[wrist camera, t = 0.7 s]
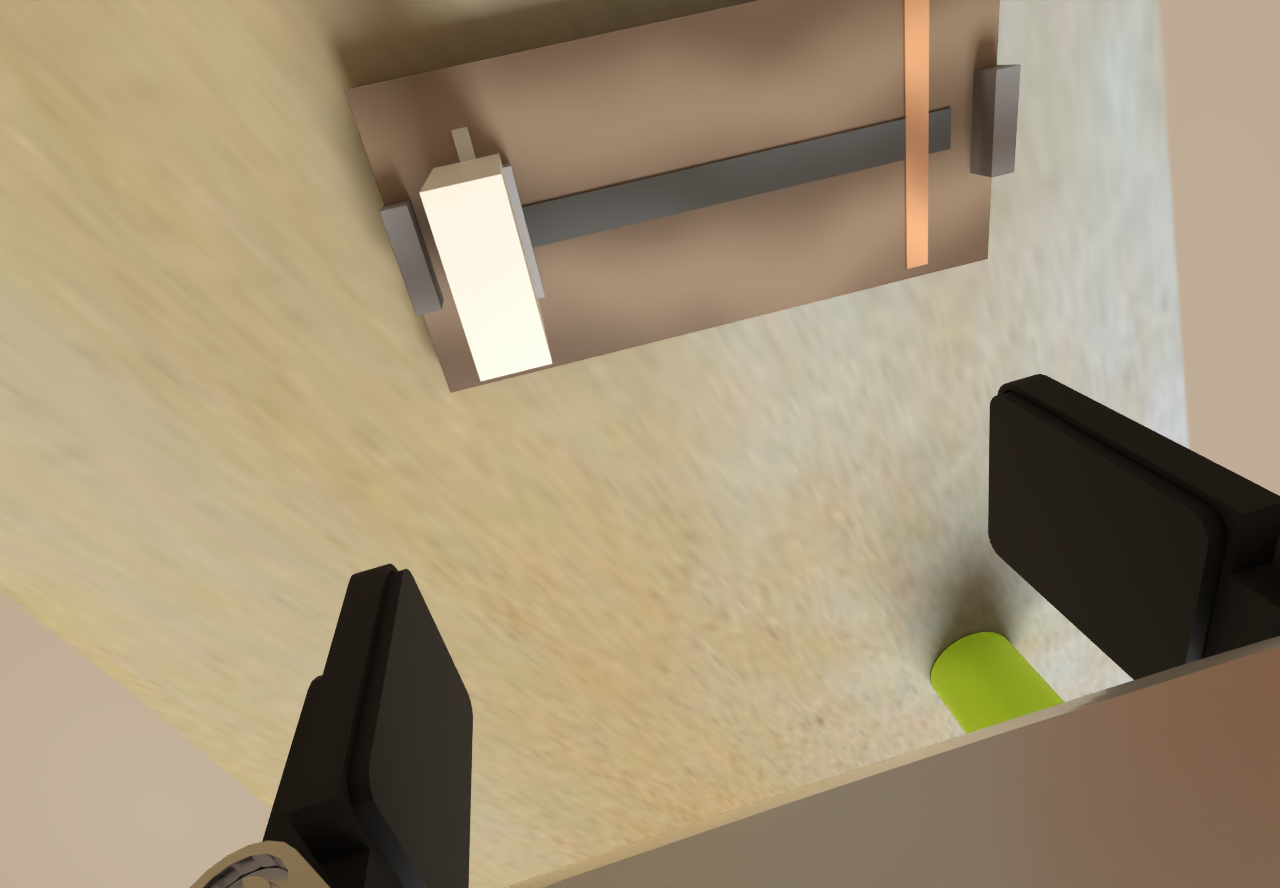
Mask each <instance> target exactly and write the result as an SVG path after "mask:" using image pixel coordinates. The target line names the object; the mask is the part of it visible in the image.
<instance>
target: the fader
mask: <svg viewBox="0 0 1280 888" xmlns="http://www.w3.org/2000/svg"><path fill="white" fill-rule="evenodd" d="M419 193H420V197H421V200H422V203H423V206H424V209H425V212H426V215H427V218H428V221H429V224H430V227H431V230H432V233H433V236H434V240H435V243H436V246H437V249H438V252H439V255H440V258H441V261H442V264H443V267H444V270H445V273H446V276H447V280H448V283H449V286H450V289H451V292H452V295H453V298H454V301H455V304H456V307H457V310H458V313H459V316H460V319H461V323H462V326H463V329H464V332H465V335H466V338H467V341H468V344H469V347H470V350H471V353H472V356H473V359H474V363H475V366H476V369H477V372H478V375H479V378H480V381H485V380H489V379H493V378H497V377H501V376H505V375H509V374H513V373H517V372H521V371H525V370H529V369H533V368H537V367H541V366H545V365H549V364H552V359H551V354H550V350H549V345H548V341H547V336H546V332H545V327H544V322H543V318H542V313H541V309H540V305H539V302H538V299H539V298H543V297H545V295H544V291H543V287H542V283H541V279H540V275H539V271H538V268H537V264H536V260H535V256H534V252H533V248H532V245H531V241H530V237H529V233H528V229H527V225H526V222H525V218H524V214H523V210H522V206H521V202H520V199H519V195H518V191H517V187H516V183H515V179H514V176H513V172H512V168H511V164H510V163H505V164H502V163H501V159H500V155H499V154H494V155H490V156H485V157H481V158H476V159H472V160H468V161H463V162H459V163H454V164H450V165H445V166H441V167H437V168H433V170H432V171H431V173H430V175H429V177H428V178H427V180H426V182H425V184H424V185H423V187H422V189H421V190H420V192H419Z"/></svg>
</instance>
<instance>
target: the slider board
mask: <svg viewBox="0 0 1280 888" xmlns="http://www.w3.org/2000/svg"><path fill="white" fill-rule="evenodd" d="M999 4H1000V0H757V1H753V2H748V3H743V4H739V5H734V6H729V7H725V8H720V9H716V10H711V11H706V12H702V13H697V14H692V15H688V16H683V17H678V18H674V19H669V20H665V21H660V22H655V23H651V24H646V25H641V26H637V27H632V28H627V29H623V30H618V31H614V32H609V33H604V34H600V35H595V36H590V37H586V38H581V39H577V40H572V41H567V42H563V43H558V44H553V45H549V46H544V47H539V48H535V49H530V50H526V51H521V52H516V53H512V54H507V55H502V56H498V57H493V58H488V59H484V60H479V61H475V62H470V63H465V64H461V65H456V66H451V67H447V68H442V69H438V70H433V71H428V72H424V73H419V74H414V75H410V76H405V77H400V78H396V79H391V80H387V81H382V82H377V83H373V84H368V85H363V86H359V87H354V88H349V89H345V90H344V91H345V93H346V96H347V99H348V102H349V105H350V108H351V111H352V113H353V116H354V119H355V122H356V125H357V128H358V131H359V133H360V136H361V139H362V142H363V145H364V148H365V151H366V153H367V156H368V159H369V162H370V165H371V168H372V170H373V173H374V176H375V179H376V182H377V185H378V188H379V190H380V193H381V196H382V199H383V202H384V206H383V208H382V209H381V210H380V211H379V212H380V215H381V218H382V220H383V223H384V226H385V229H386V232H387V235H388V237H389V240H390V243H391V246H392V249H393V251H394V254H395V257H396V260H397V263H398V265H399V268H400V271H401V274H402V277H403V279H404V282H405V285H406V288H407V291H408V294H409V296H410V299H411V302H412V305H413V308H414V310H415V313H416V316H418V315H422V314H423V316H424V319H425V322H426V324H427V327H428V330H429V333H430V336H431V339H432V342H433V344H434V347H435V350H436V353H437V356H438V359H439V362H440V364H441V367H442V370H443V373H444V376H445V379H446V381H447V384H448V387H449V390H450V393H451V392H455V391H459V390H463V389H467V388H471V387H475V386H479V385H483V384H487V383H491V382H495V381H499V380H503V379H508V378H512V377H516V376H520V375H524V374H528V373H532V372H536V371H540V370H544V369H548V368H552V367H556V366H560V365H564V364H568V363H572V362H576V361H580V360H584V359H588V358H592V357H596V356H600V355H604V354H608V353H612V352H616V351H620V350H624V349H628V348H632V347H636V346H640V345H644V344H648V343H652V342H656V341H660V340H664V339H668V338H672V337H676V336H680V335H684V334H688V333H692V332H696V331H700V330H704V329H708V328H712V327H716V326H720V325H724V324H728V323H732V322H736V321H740V320H744V319H748V318H752V317H756V316H760V315H764V314H768V313H772V312H776V311H780V310H784V309H788V308H792V307H796V306H800V305H804V304H808V303H812V302H816V301H820V300H824V299H828V298H832V297H836V296H840V295H844V294H848V293H852V292H856V291H860V290H864V289H868V288H872V287H876V286H880V285H884V284H888V283H892V282H896V281H900V280H904V279H908V278H912V277H916V276H920V275H924V274H928V273H932V272H936V271H940V270H944V269H948V268H952V267H956V266H960V265H964V264H969V263H973V262H977V261H981V260H985V259H988V240H989V219H990V197H991V177H995V176H1000V175H1004V174H1008V173H1012V172H1014V164H1015V147H1016V131H1017V114H1018V98H1019V81H1020V65H997V47H998V25H999ZM494 154H499V155H500V159H501V163H502V164H505V163H510V164H511V168H512V172H513V176H514V179H515V183H516V187H517V191H518V195H519V199H520V202H521V206H522V210H523V214H524V218H525V222H526V225H527V229H528V233H529V237H530V241H531V245H532V248H533V252H534V256H535V260H536V264H537V268H538V271H539V275H540V279H541V283H542V287H543V291H544V295H545V297H543V298H539V299H538V302H539V305H540V309H541V313H542V318H543V322H544V327H545V332H546V336H547V341H548V345H549V350H550V354H551V359H552V364H549V365H545V366H541V367H537V368H533V369H529V370H525V371H521V372H517V373H513V374H509V375H505V376H501V377H497V378H493V379H489V380H485V381H480V378H479V375H478V372H477V369H476V366H475V363H474V359H473V356H472V353H471V350H470V347H469V344H468V341H467V338H466V335H465V332H464V329H463V326H462V323H461V319H460V316H459V313H458V310H457V307H456V304H455V301H454V298H453V295H452V292H451V289H450V286H449V283H448V280H447V276H446V273H445V270H444V267H443V264H442V261H441V258H440V255H439V252H438V249H437V246H436V243H435V240H434V236H433V233H432V230H431V227H430V224H429V221H428V218H427V215H426V212H425V209H424V206H423V203H422V200H421V197H420V193H419V192H420V190H421V189H422V187H423V185H424V184H425V182H426V180H427V178H428V177H429V175H430V173H431V171H432V170H433V168H437V167H441V166H445V165H450V164H454V163H459V162H463V161H468V160H472V159H476V158H481V157H485V156H490V155H494Z"/></svg>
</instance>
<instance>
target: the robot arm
mask: <svg viewBox="0 0 1280 888" xmlns="http://www.w3.org/2000/svg"><path fill="white" fill-rule="evenodd" d="M988 534H989V539H990V543H991V545H992V547H993V549H994V550H995V552H996V553H997V554H998V555H999V557H1001V558H1002V559H1003V560H1004V561H1005V562H1006V563H1007V564H1008V565H1009V566H1010V567H1011V568H1013V569H1014V570H1015V571H1016V572H1017V573H1018V574H1019V575H1020V576H1021V577H1022V578H1023V579H1025V580H1026V581H1027V582H1028V583H1029V584H1030V585H1031V586H1032V587H1033V588H1034V589H1035V590H1036V591H1038V592H1039V593H1040V594H1041V595H1042V596H1043V597H1044V598H1045V599H1046V600H1047V601H1048V602H1050V603H1051V604H1052V605H1053V606H1054V607H1055V608H1056V609H1057V610H1058V611H1059V612H1060V613H1062V614H1063V615H1064V616H1065V617H1066V618H1067V619H1068V620H1069V621H1070V622H1071V623H1072V624H1074V625H1075V626H1076V627H1077V628H1078V629H1079V630H1080V631H1081V632H1082V633H1083V634H1084V635H1086V636H1087V637H1088V638H1089V639H1090V640H1091V641H1092V642H1093V643H1094V644H1095V645H1096V646H1098V647H1099V648H1100V649H1101V650H1102V651H1103V652H1104V653H1105V654H1106V655H1107V656H1108V657H1110V658H1111V659H1112V660H1113V661H1114V662H1115V663H1116V664H1117V665H1118V666H1119V667H1120V668H1122V669H1123V670H1124V671H1125V672H1126V673H1127V674H1128V675H1129V676H1130V677H1131V678H1132V679H1134V681H1130V682H1127V683H1124V684H1121V685H1118V686H1115V687H1112V688H1108V689H1105V690H1102V691H1099V692H1096V693H1093V694H1090V695H1086V696H1083V697H1080V698H1077V699H1074V700H1071V701H1068V702H1064V703H1061V704H1058V705H1055V706H1052V707H1049V708H1046V709H1042V710H1039V711H1036V712H1033V713H1030V714H1027V715H1024V716H1020V717H1017V718H1014V719H1011V720H1008V721H1005V722H1002V723H999V724H996V725H993V726H989V727H986V728H983V729H980V730H977V731H974V732H971V733H968V734H965V735H962V736H959V737H956V738H952V739H949V740H946V741H943V742H940V743H937V744H934V745H931V746H928V747H925V748H922V749H918V750H915V751H912V752H909V753H906V754H903V755H900V756H897V757H894V758H891V759H888V760H885V761H882V762H878V763H875V764H872V765H869V766H866V767H863V768H860V769H857V770H854V771H851V772H848V773H845V774H842V775H839V776H836V777H832V778H829V779H826V780H823V781H820V782H817V783H814V784H811V785H808V786H805V787H802V788H799V789H796V790H793V791H790V792H787V793H784V794H781V795H778V796H774V797H771V798H768V799H765V800H762V801H759V802H756V803H753V804H750V805H747V806H744V807H741V808H738V809H735V810H732V811H729V812H726V813H723V814H720V815H717V816H714V817H711V818H708V819H705V820H702V821H699V822H696V823H693V824H690V825H687V826H684V827H681V828H678V829H675V830H672V831H669V832H666V833H663V834H660V835H657V836H654V837H651V838H648V839H645V840H642V841H639V842H636V843H633V844H630V845H627V846H624V847H621V848H618V849H614V850H611V851H608V852H606V853H603V854H600V855H597V856H594V857H591V858H588V859H586V860H583V861H580V862H577V863H574V864H571V865H568V866H566V867H563V868H560V869H557V870H554V871H551V872H548V873H546V874H543V875H540V876H537V877H534V878H531V879H528V880H526V881H523V882H520V883H517V884H514V885H511V886H508V887H506V888H1280V496H1279V495H1277V494H1274V493H1273V492H1271V491H1269V490H1267V489H1265V488H1263V487H1261V486H1259V485H1257V484H1255V483H1253V482H1251V481H1250V480H1248V479H1246V478H1244V477H1242V476H1240V475H1238V474H1236V473H1234V472H1232V471H1230V470H1228V469H1226V468H1224V467H1222V466H1220V465H1219V464H1216V463H1214V462H1212V461H1211V460H1209V459H1207V458H1205V457H1203V456H1201V455H1199V454H1197V453H1195V452H1193V451H1191V450H1189V449H1187V448H1186V447H1184V446H1182V445H1180V444H1178V443H1176V442H1174V441H1172V440H1170V439H1168V438H1166V437H1164V436H1162V435H1160V434H1158V433H1156V432H1154V431H1153V430H1151V429H1149V428H1147V427H1145V426H1143V425H1141V424H1139V423H1137V422H1135V421H1133V420H1131V419H1129V418H1127V417H1125V416H1123V415H1122V414H1120V413H1118V412H1116V411H1114V410H1112V409H1110V408H1108V407H1106V406H1104V405H1102V404H1100V403H1098V402H1096V401H1094V400H1092V399H1090V398H1089V397H1087V396H1085V395H1083V394H1081V393H1079V392H1077V391H1075V390H1073V389H1071V388H1069V387H1067V386H1065V385H1063V384H1061V383H1059V382H1058V381H1056V380H1054V379H1052V378H1050V377H1048V376H1046V375H1042V374H1037V375H1033V376H1030V377H1026V378H1023V379H1019V380H1016V381H1013V382H1009V383H1006V384H1004V385H1002V386H1001V387H1000V389H999V391H998V395H997V396H995V397H993V398H992V400H991V402H990V435H989V515H988ZM472 731H473V713H472V706H471V701H470V698H469V695H468V693H467V690H466V688H465V686H464V684H463V682H462V680H461V677H460V675H459V673H458V671H457V669H456V667H455V665H454V663H453V660H452V658H451V656H450V654H449V652H448V650H447V648H446V646H445V643H444V641H443V639H442V637H441V635H440V633H439V631H438V629H437V626H436V624H435V622H434V620H433V618H432V616H431V614H430V612H429V609H428V607H427V605H426V603H425V601H424V599H423V597H422V595H421V592H420V590H419V588H418V586H417V584H416V582H415V580H414V578H413V576H412V574H411V572H410V571H409V570H408V569H404V570H401V571H398V570H397V569H396V568H395V566H394V565H392V564H387V565H384V566H380V567H377V568H373V569H370V570H366V571H363V572H360V573H356V574H354V575H352V576H351V578H350V581H349V584H348V588H347V591H346V595H345V598H344V602H343V605H342V609H341V612H340V616H339V619H338V623H337V626H336V630H335V633H334V637H333V640H332V644H331V648H330V651H329V655H328V658H327V662H326V665H325V669H324V672H323V675H321V676H318V677H316V678H315V679H314V680H313V681H312V683H311V685H310V687H309V689H308V692H307V695H306V698H305V702H304V705H303V708H302V712H301V715H300V718H299V722H298V725H297V728H296V732H295V735H294V738H293V741H292V745H291V748H290V751H289V755H288V758H287V761H286V765H285V768H284V771H283V775H282V778H281V781H280V785H279V788H278V791H277V795H276V798H275V801H274V804H273V808H272V811H271V814H270V818H269V821H268V825H267V828H266V831H265V835H264V838H263V841H262V842H260V843H255V844H252V845H248V846H246V847H244V848H242V849H240V850H238V851H236V852H234V853H232V854H230V855H227V856H226V857H225V858H223V859H222V860H221V861H219V862H218V863H217V864H215V865H214V866H213V867H211V868H210V869H209V870H207V871H206V872H205V873H204V874H203V875H202V876H201V877H200V878H199V879H198V880H197V881H196V882H195V883H194V884H193V885H192V886H191V887H190V888H468V884H469V846H470V808H471V769H472Z"/></svg>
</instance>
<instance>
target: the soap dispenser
mask: <svg viewBox="0 0 1280 888" xmlns="http://www.w3.org/2000/svg"><path fill="white" fill-rule="evenodd" d="M931 683H932V686H933V688H934V690H935V691H936V692H937V694H938V695H939V697H940V698H941V699H942V701H943V702H944V703H945V705H946V706H947V708H948V709H949V710H950V712H951V713H952V715H953V716H954V717H955V719H956V720H957V721H958V723H959V724H960V726H961V727H962V728H963V730H964V731H965V733H966V734H968V733H971V732H974V731H977V730H980V729H983V728H986V727H989V726H993V725H996V724H999V723H1002V722H1005V721H1008V720H1011V719H1014V718H1017V717H1020V716H1024V715H1027V714H1030V713H1033V712H1036V711H1039V710H1042V709H1046V708H1049V707H1052V706H1055V705H1058V704H1061V703H1064V701H1063V700H1062V699H1061V698H1060V697H1059V696H1058V694H1057V693H1056V692H1055V691H1054V690H1053V689H1052V688H1051V687H1050V686H1049V685H1048V684H1047V682H1046V681H1045V680H1044V679H1043V678H1042V677H1041V676H1040V675H1039V674H1038V673H1037V672H1036V670H1035V669H1034V668H1033V667H1032V666H1031V665H1030V664H1029V663H1028V662H1027V661H1026V659H1025V658H1024V657H1023V656H1022V655H1021V654H1020V653H1019V652H1018V651H1017V650H1016V649H1015V647H1014V646H1013V645H1012V644H1011V643H1010V642H1009V641H1008V640H1007V639H1006V638H1005V637H1004V636H1002V635H1000V634H998V633H994V632H979V633H975V634H971V635H968V636H966V637H963V638H961V639H959V640H958V641H956V642H954V643H953V644H952V645H950V646H949V647H948V648H947V649H946V650H944V651H943V653H942V654H941V655H940V656H939V657H938V659H937V660H936V662H935V664H934V666H933V668H932V671H931Z"/></svg>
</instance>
